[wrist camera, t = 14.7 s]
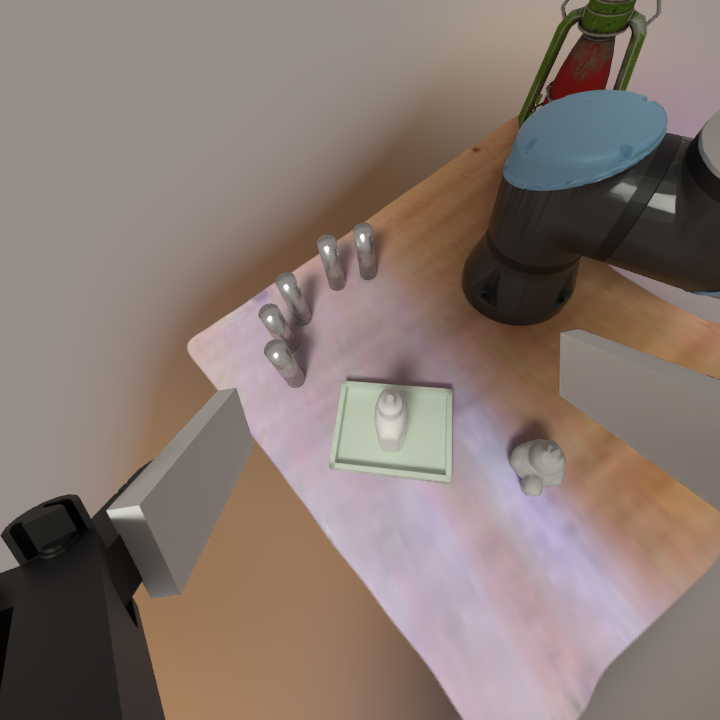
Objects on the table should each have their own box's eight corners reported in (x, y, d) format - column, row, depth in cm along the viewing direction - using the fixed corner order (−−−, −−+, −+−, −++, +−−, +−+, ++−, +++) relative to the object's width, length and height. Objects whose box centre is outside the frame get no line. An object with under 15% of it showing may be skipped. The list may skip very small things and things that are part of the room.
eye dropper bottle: (418, 421, 42) (426, 385, 32) (394, 459, 41) (393, 436, 30) (388, 403, 44) (386, 363, 33) (364, 439, 42) (353, 410, 31)
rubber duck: (561, 454, 40) (596, 439, 33) (545, 509, 37) (580, 505, 30) (514, 434, 41) (537, 415, 34) (496, 486, 39) (518, 477, 32)
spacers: (379, 270, 54) (376, 226, 46) (298, 390, 47) (277, 362, 39) (340, 255, 57) (330, 210, 49) (257, 368, 49) (228, 337, 41)
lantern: (496, 177, 61) (572, -97, 34) (515, 142, 65) (596, -131, 38) (579, 196, 57) (739, -99, 30) (594, 157, 61) (747, -137, 34)
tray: (450, 394, 44) (452, 389, 42) (449, 483, 40) (451, 481, 38) (344, 386, 46) (342, 380, 45) (331, 469, 42) (328, 467, 40)
